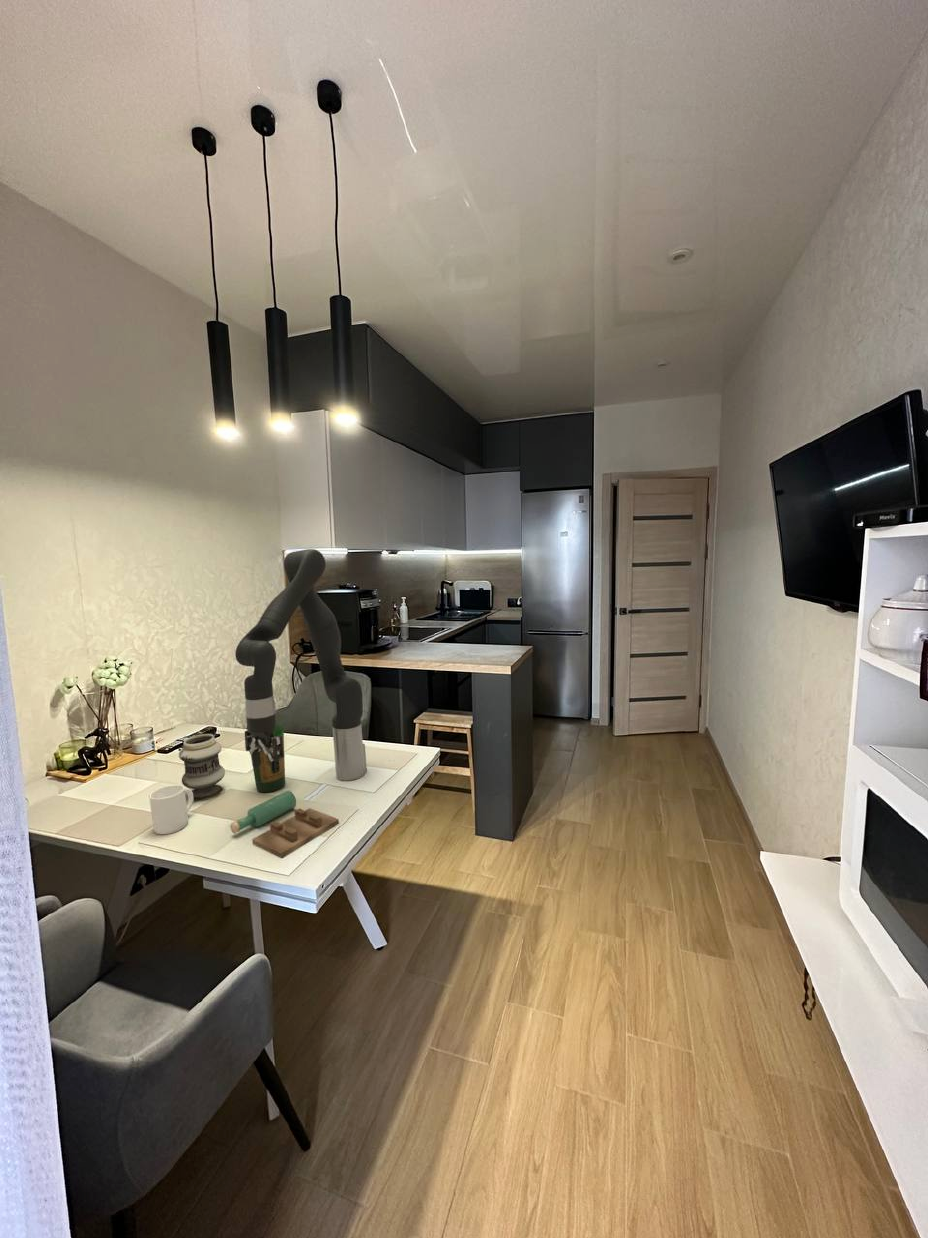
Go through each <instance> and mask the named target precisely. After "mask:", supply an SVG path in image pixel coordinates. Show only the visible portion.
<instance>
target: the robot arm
mask: <svg viewBox="0 0 928 1238" xmlns="http://www.w3.org/2000/svg"><path fill="white" fill-rule="evenodd" d="M283 567H284V572H285V576H286V577H287V580H288V582H289V584H288V585H287V586H285V588H284V589H283V590H282V591H281V592H280V593H278V594H277V595H276V596H275V597H274V599H272V600H271V602H270V603H269V604H268V605H267V607H266V608H265V610H264V611H263V613H262V614H261V616H260V618H259V620H258V622H257V623H256V624H255V625H254V626H253V627H252V628H251V629H250V630H249V631H248V632H247V633H246V634H245V635H244V636H243V637H242V639H241V640H240V641H239V642H238V644H237V646H236V649H235V652H234V653H235V655H234V656H235V659H236V661H237V663H238V664H240V665H241V666H244V667H252V668H253V674H251V675H248V676H247V677H245V679H244V682H243V685H244V686H243V687H244V695H245V696H244V698H245V699H244V700H245V706H244V707H245V718H246V720H245V721H246V729H247V730H244V744H245V746H244V748H245V751H246V752H249V754H250V756H251V755H252V759H251V763H252V768H253V767H255V768H256V767H258V766H260V765H261V757H260V753H259V751H260V749H262V750H264V752H265V754H266V755H268V757H269V759H270V767H271V773H272V774H275V773H278V772H279V771H280V766H279V759H280V758H283V757H284V758H285V749H284V750H283V741H282V737H281V736H278V737H275V736H274V733H273V731H274V729H275V728H276V727H277V722H278V721H277V713H276V712H277V711H276V702H275V699H274V698H275V697H274V689H273V677H274V672H275V667H276V661H277V652H276V650H275V647H274V645H273V644H272V643H271V641H275V640H277V639H279V638H280V637H281V636H282V635H283V633H284V631H285V629H286V627H287V626H288V624H289V621H290V620H291V618H292V616H293V615H294V613H295V612H296V610H297V609H298V607H299V608H300V611H301V613H302V617H303V620H304V623H305V625H306V630H307V632H308V637H309V640H310V642H311V645H312V648H313V650H314V653H315V656H316V659H317V662H318V665H319V668H320V671H321V677H322V682H323V685H324V691H325V695H326V696H327V698H328V699H329V700H330V701H331V702H332V703H335V707H336V709H335V711H336V714H335V715H333V716H332V719H331V724H332V738H333V752H334V763H335V777H336V779H338V780H340V781H353V780H357V779H359V778H362V777H364V775H365V773H366V772H367V771H368V768H367V766H368V765H367V754H366V753H367V752H366V745H365V743H363V742H364V741H363V732H362V730H363V729H362V717H363V713H364V710H363V709H364V705H363V703H364V702H363V688H362V685H361V683H360V682H359V681H358V680H357V679H355V678H352V677H349V676H348V675H347V674H346V671H345V669H344V666H343V664H342V663H343V662H342V659H341V650H342V649H341V647H342V637H341V632H340V628H339V625H338V622H337V618H336V617H335V614H334V613H333V611H332V610H331V609H330V607H328V605H327V604H326V603H325V602H324V601H323V600H322V599H321V598H320V596H319V595H318V593H317V591H316V589H315V585H316V583H317V582H319V580H320V579H321V577H322V576H323V575H324V572H325V570H326V567H327V565H326V559H325V556H324V554H322V552H320V551H319V550H317V549H314V548H309V549H301V550H296V551H291V552H289V553H287V554H286V556H285V558H284V560H283ZM250 742H252V743H251V746H249V743H250ZM271 747H272V749H270V748H271ZM278 750H279V751H280V754H279V752H278ZM272 752H273V755H272Z"/></svg>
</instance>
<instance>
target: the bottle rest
mask: <svg viewBox="0 0 928 1238" xmlns="http://www.w3.org/2000/svg"><path fill="white" fill-rule="evenodd" d="M339 823H340V822H339V818H336V817H333V816H331V815H328V814H326V813H324V812H322V811H321V812H320V811H318V810H315V809H313V808H311V807H309V808H307V809H305V810H304V809H302V808H300V807H299V808H298V809H296V810H294V816H293V817H291V818H289V819H287V820H285V821H282V822H281V823H280V821H277V820H276V821H273V822H271V823H270V824H269V826H270V827H269V828H270V829H269V830H266V831H265V832H262V833H261V834H258V835H257V836H255V837H254V838H252V839H251V841H252V845H255V846H256V847H259V848H261V849H263V850H265V851H267V852H268V853H271V854H273V855H275V856H277V857H278V858H281V859H282V858H284V857H286V856H287V855H289V854H291V853H292V852H295V851H296V850H297V849H300V848H301V847H302V846H304V845H307V843H309V842H311V841H312V840H314V839H316V838H317V837H319V836H320V835H322V834H324V833H325V832H327V831H329V830H330V829H332V828H334V827H336V826H337V825H338V824H339Z"/></svg>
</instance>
